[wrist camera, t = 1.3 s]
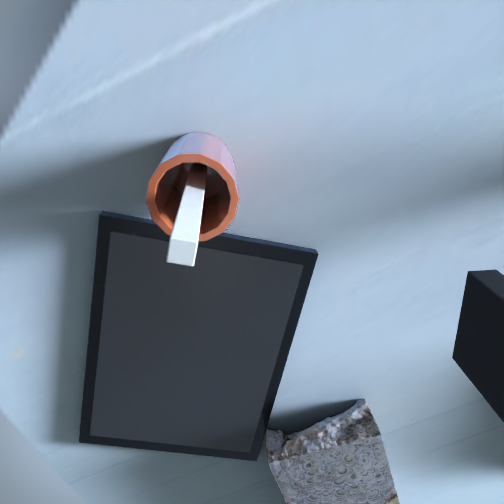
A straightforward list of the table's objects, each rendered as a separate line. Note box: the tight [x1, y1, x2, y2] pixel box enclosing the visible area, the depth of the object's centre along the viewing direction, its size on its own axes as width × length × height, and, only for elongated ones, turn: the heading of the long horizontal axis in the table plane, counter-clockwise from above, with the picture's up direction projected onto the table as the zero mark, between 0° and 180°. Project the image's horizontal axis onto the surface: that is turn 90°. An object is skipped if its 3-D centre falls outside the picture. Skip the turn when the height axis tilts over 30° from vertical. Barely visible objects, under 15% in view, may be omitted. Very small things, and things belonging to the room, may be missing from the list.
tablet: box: [79, 211, 318, 461], centre depth 40 cm, size 18×24×1 cm
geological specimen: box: [266, 399, 399, 504], centre depth 45 cm, size 11×6×15 cm
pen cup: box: [146, 132, 239, 241], centre depth 30 cm, size 5×6×9 cm
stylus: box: [166, 164, 207, 266], centre depth 26 cm, size 1×1×16 cm
